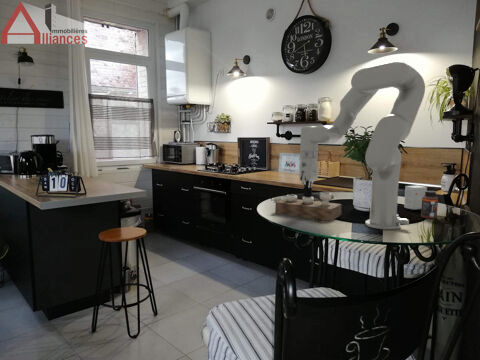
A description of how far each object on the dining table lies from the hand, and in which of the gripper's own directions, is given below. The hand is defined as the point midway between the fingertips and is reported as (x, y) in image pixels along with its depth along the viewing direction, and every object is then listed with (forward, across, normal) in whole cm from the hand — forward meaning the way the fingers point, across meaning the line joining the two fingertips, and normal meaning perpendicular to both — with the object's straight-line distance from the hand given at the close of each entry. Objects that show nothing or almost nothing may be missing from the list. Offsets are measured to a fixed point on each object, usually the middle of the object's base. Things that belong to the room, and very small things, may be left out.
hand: (307, 196), depth 154 cm
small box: (+8, +41, -37) cm, 56 cm away
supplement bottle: (+8, +23, -45) cm, 51 cm away
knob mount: (+8, 0, 0) cm, 8 cm away
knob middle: (+7, 0, 0) cm, 7 cm away
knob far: (+7, 0, +8) cm, 10 cm away
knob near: (+4, 0, -8) cm, 9 cm away
